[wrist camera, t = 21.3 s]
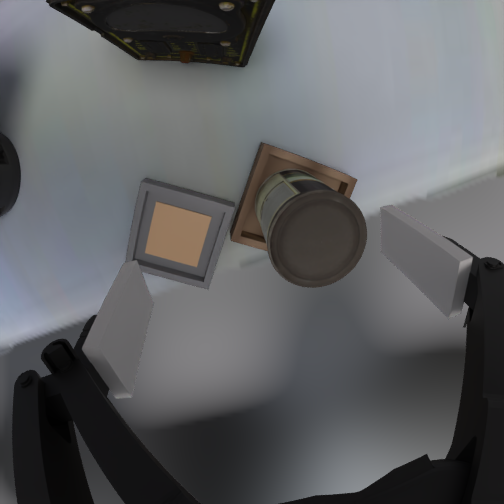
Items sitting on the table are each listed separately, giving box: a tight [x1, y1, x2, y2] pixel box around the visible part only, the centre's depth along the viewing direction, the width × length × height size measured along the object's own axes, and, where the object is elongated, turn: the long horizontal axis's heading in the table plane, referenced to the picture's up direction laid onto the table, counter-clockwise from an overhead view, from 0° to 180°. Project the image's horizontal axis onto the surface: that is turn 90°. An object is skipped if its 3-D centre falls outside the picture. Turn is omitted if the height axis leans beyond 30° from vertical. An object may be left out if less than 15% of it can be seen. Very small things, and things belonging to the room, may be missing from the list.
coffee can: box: [255, 169, 367, 288], centre depth 36 cm, size 10×10×14 cm
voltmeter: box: [46, 0, 275, 67], centre depth 21 cm, size 16×9×25 cm, turn 81°
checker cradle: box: [125, 178, 235, 289], centre depth 42 cm, size 13×13×2 cm
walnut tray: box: [230, 142, 357, 251], centre depth 41 cm, size 14×14×4 cm
